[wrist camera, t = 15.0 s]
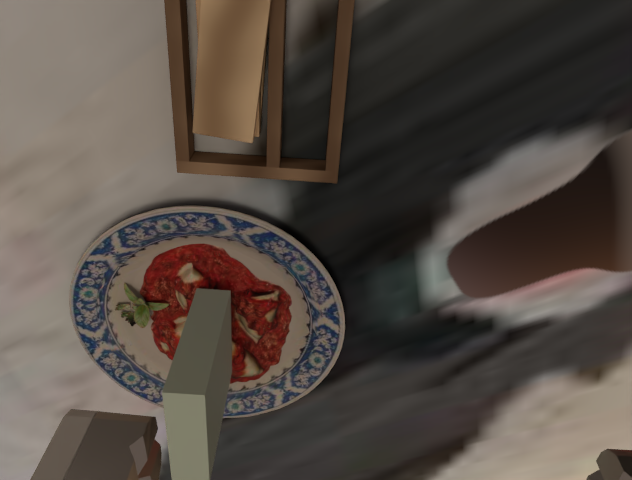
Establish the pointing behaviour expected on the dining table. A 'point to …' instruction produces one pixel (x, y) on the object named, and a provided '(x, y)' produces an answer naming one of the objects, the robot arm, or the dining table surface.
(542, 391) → the dining table surface
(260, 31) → the offcut stack
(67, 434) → the robot arm
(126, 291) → the ceramic plate
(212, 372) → the grey-green rectangular block
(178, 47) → the walnut rack
